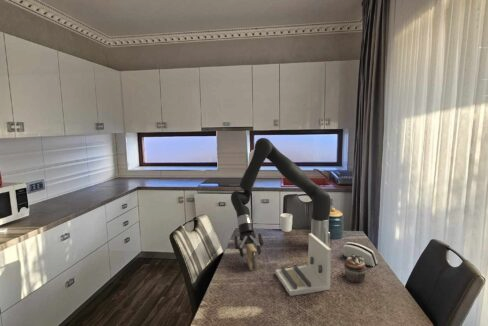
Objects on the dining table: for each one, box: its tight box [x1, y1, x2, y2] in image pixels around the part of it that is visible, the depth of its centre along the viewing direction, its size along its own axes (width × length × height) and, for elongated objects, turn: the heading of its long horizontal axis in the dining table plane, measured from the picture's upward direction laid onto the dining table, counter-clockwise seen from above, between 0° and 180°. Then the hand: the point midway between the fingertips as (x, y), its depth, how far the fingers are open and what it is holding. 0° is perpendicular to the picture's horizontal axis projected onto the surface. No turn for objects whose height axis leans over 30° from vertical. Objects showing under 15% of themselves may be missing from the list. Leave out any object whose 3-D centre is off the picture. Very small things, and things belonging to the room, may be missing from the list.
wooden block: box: [245, 243, 258, 271], centre depth 144 cm, size 3×9×10 cm, turn 13°
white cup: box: [279, 212, 293, 233], centre depth 191 cm, size 8×8×10 cm
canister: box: [329, 207, 345, 240], centre depth 180 cm, size 13×13×18 cm
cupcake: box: [344, 254, 368, 283], centre depth 133 cm, size 10×10×10 cm
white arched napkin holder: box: [342, 241, 379, 268], centre depth 149 cm, size 17×5×10 cm, turn 39°
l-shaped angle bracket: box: [275, 232, 332, 297], centre depth 130 cm, size 18×18×18 cm
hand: (251, 255), depth 145 cm, fingers open, 8 cm apart
